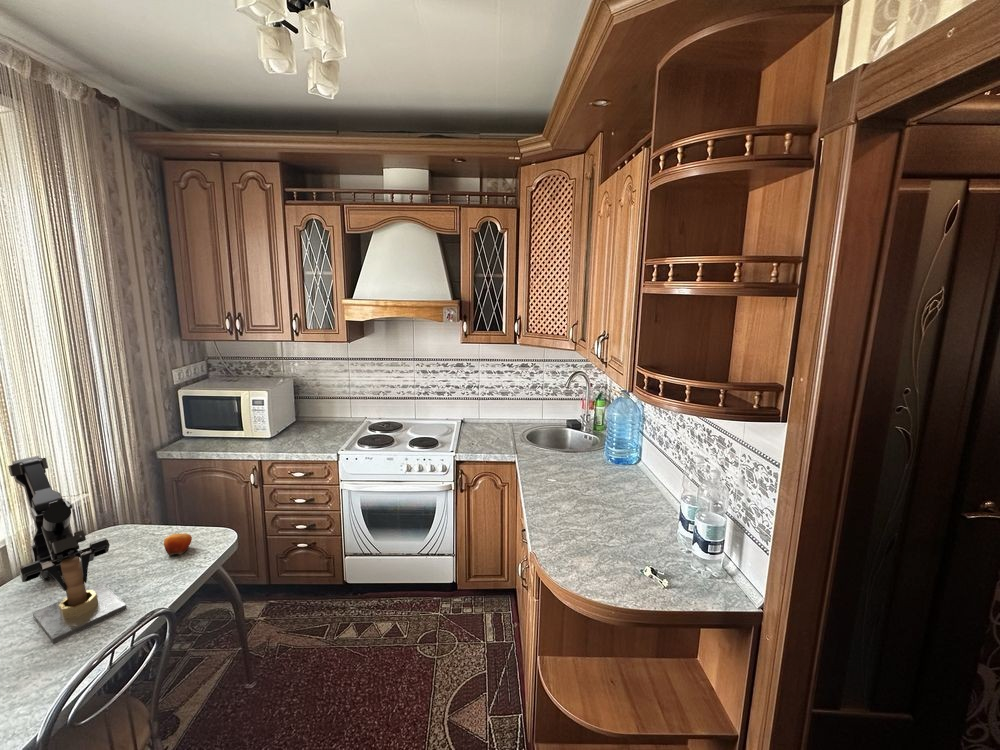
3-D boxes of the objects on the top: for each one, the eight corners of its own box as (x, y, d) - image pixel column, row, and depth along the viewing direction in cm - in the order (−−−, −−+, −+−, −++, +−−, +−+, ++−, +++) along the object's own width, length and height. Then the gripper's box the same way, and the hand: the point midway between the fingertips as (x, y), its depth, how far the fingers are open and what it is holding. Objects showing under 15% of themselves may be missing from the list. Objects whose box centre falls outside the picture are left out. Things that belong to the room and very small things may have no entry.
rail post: (72, 602, 136) (63, 558, 133) (90, 598, 138) (81, 555, 135) (67, 611, 133) (57, 566, 130) (85, 607, 134) (76, 562, 132)
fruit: (158, 559, 159) (160, 534, 162) (168, 559, 166) (169, 535, 169) (185, 555, 161) (187, 530, 164) (194, 555, 169) (195, 531, 171)
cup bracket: (33, 617, 134) (30, 603, 133) (103, 587, 147) (101, 574, 146) (53, 644, 124) (50, 629, 123) (126, 609, 137) (124, 595, 136)
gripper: (13, 539, 126) (29, 593, 121) (102, 512, 140) (119, 559, 136) (14, 556, 132) (30, 607, 128) (99, 528, 147) (116, 574, 142)
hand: (75, 586), depth 133 cm, fingers closed on rail post, 4 cm apart
